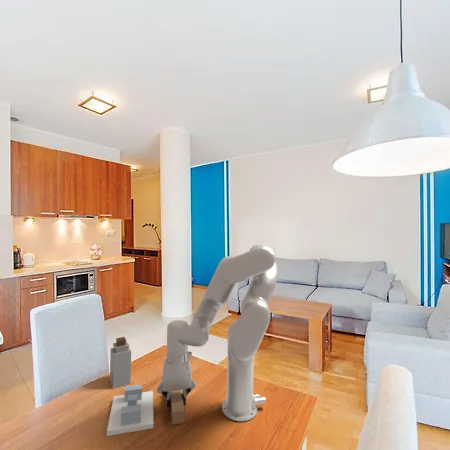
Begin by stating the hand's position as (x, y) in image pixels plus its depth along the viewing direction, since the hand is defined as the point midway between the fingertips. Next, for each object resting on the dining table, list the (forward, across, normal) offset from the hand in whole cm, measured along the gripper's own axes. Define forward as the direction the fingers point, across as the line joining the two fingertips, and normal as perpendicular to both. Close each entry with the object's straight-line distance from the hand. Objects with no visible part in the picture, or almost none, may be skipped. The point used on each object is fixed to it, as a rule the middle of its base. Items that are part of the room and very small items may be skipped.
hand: (176, 407), depth 98 cm
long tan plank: (0, 0, 0) cm, 0 cm away
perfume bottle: (+1, +21, -22) cm, 30 cm away
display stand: (0, +15, -1) cm, 15 cm away
